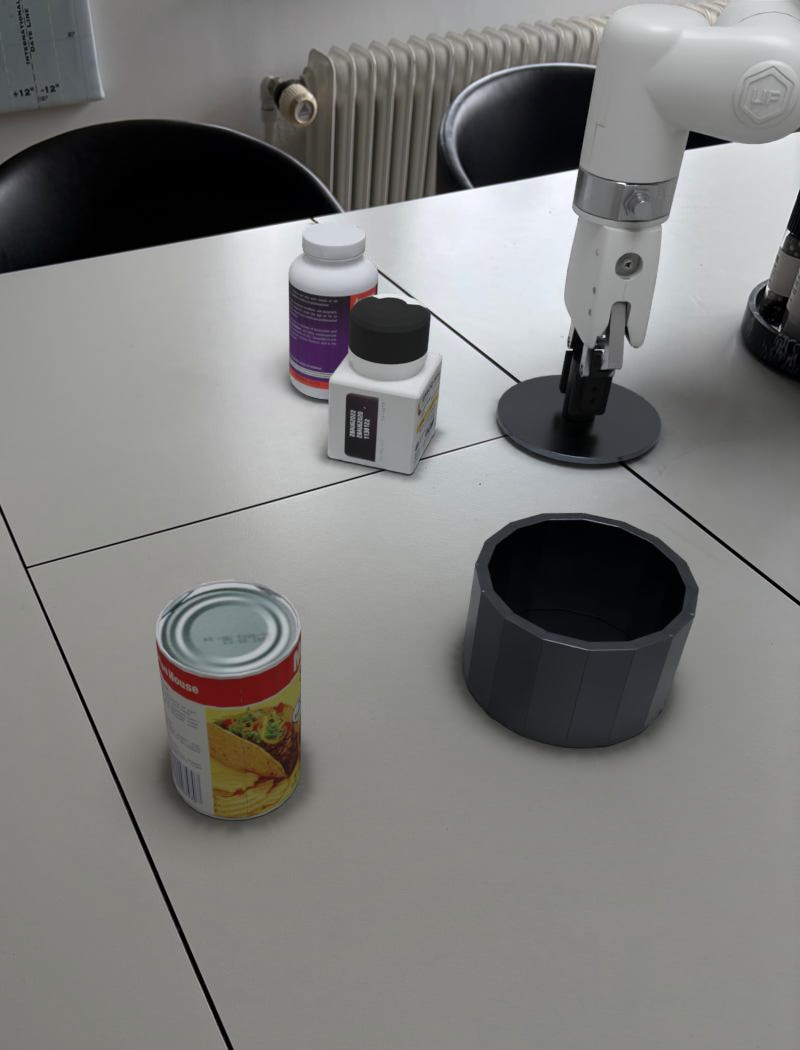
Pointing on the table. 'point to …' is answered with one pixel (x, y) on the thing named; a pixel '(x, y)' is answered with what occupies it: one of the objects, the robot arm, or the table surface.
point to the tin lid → (577, 421)
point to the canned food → (232, 696)
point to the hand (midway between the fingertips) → (581, 401)
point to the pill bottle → (325, 301)
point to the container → (385, 386)
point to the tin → (576, 627)
